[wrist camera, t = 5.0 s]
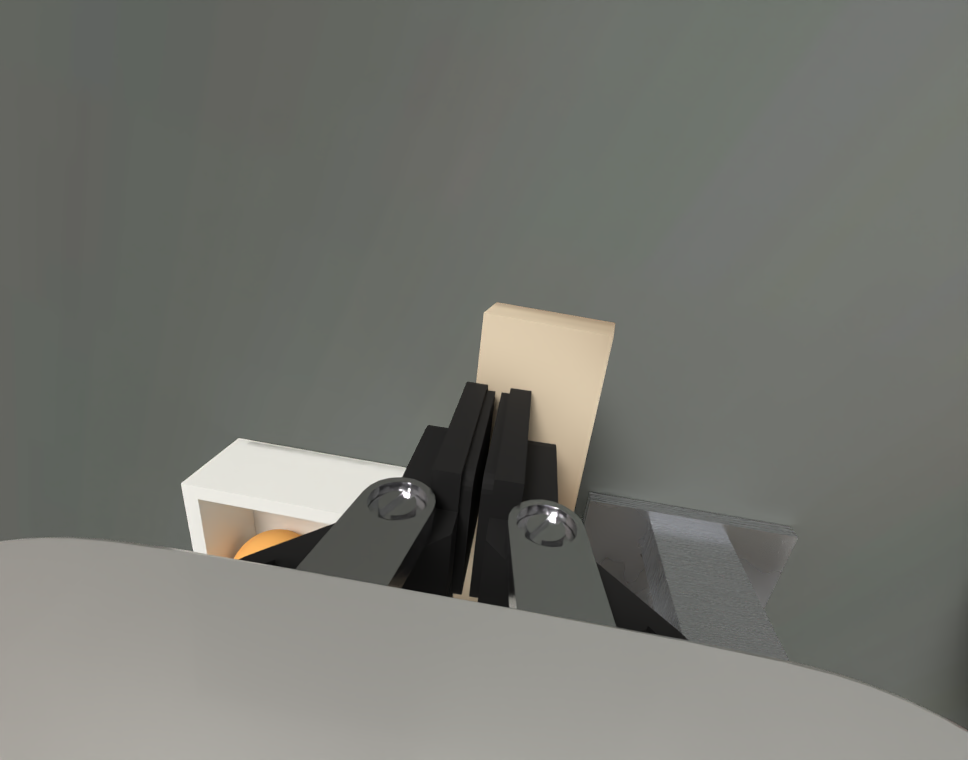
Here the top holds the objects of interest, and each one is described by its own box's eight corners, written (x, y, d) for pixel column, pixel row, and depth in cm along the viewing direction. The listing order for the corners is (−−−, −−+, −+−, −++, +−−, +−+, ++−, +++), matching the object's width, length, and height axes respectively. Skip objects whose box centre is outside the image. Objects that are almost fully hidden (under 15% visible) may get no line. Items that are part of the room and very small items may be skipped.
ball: (301, 636, 20) (217, 630, 20) (326, 572, 23) (254, 566, 23) (297, 574, 18) (207, 567, 18) (324, 516, 22) (248, 509, 21)
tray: (444, 641, 24) (426, 711, 21) (258, 602, 25) (214, 664, 22) (461, 477, 20) (442, 532, 17) (238, 438, 21) (181, 483, 18)
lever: (959, 912, 15) (1038, 1083, 12) (436, 712, 19) (401, 805, 16) (1448, 468, 8) (1888, 612, 5) (478, 299, 12) (431, 331, 9)
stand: (709, 703, 23) (781, 945, 16) (547, 668, 24) (543, 885, 16) (791, 527, 19) (943, 747, 11) (589, 491, 19) (609, 677, 12)
